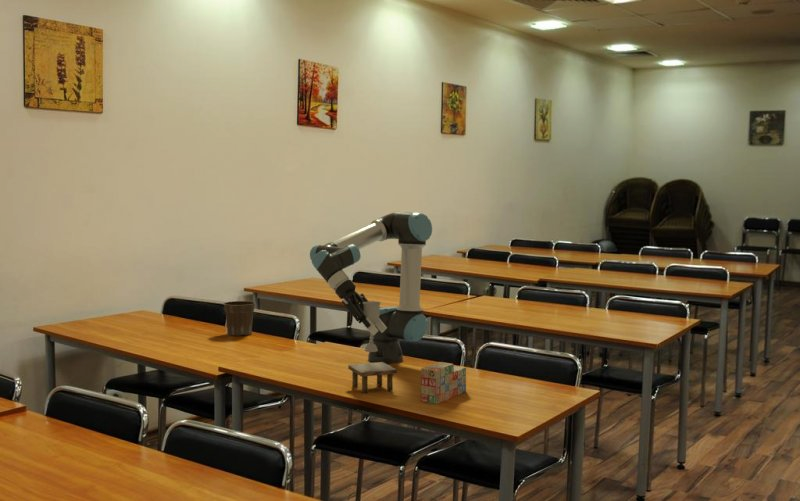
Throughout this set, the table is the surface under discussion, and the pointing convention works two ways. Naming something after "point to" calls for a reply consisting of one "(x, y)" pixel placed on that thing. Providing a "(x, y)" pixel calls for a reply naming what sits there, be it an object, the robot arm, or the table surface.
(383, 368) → the stool
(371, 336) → the chalice
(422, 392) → the stack of blocks
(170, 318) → the table surface
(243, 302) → the plant pot
